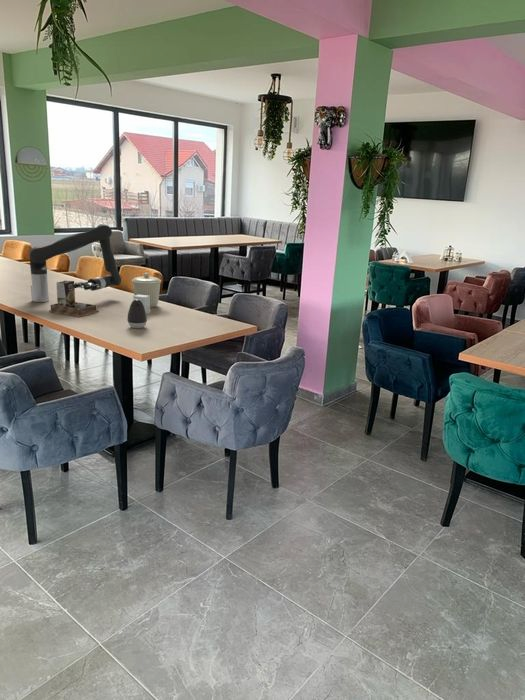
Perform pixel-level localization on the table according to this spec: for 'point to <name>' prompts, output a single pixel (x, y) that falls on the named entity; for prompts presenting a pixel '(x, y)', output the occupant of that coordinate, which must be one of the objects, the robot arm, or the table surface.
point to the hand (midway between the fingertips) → (78, 287)
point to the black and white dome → (137, 315)
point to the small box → (144, 301)
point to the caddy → (74, 309)
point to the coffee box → (65, 293)
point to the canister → (147, 288)
